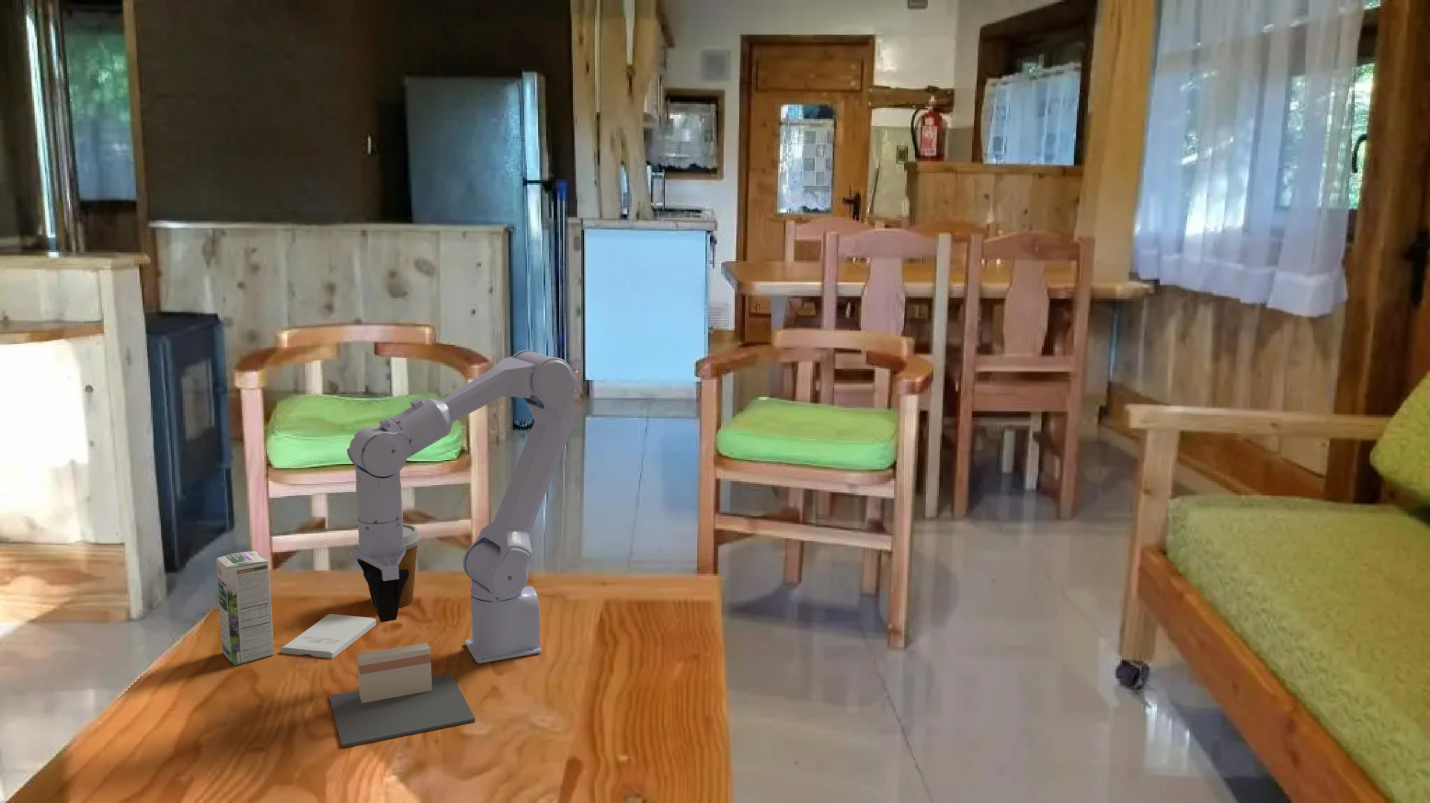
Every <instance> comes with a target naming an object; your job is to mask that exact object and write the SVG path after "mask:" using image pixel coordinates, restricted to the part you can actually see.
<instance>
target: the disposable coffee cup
mask: <svg viewBox="0 0 1430 803" xmlns="http://www.w3.org/2000/svg"><path fill="white" fill-rule="evenodd" d="M403 538H404V546H405V548H406V553H405V555H404V557H403V558H402V560H401V562H400V564H399V565H398V566H399V570H403V569H408V571H409V577H408V579H407V581H406V583H405V585H404V587H403V590H402V593H401V598H400V603H399V608H403V607H406V606H408V605H410V604H411V603H413V600H414V588H415V578H416V577H415V576H416V566H417V553H418V544H419V542H420V540H421V535H420V534H419V532H418V528H417V527H416V526H415V525H413V524H408V523H403ZM358 543H359V540H358ZM371 603H372V606H373V607H374V605H373V602H371Z"/></svg>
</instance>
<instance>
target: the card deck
mask: <svg viewBox="0 0 1430 803" xmlns="http://www.w3.org/2000/svg"><path fill="white" fill-rule="evenodd" d="M356 655H357V671H358V672H357V674H358V687H359V689H358V690H359V693H360V699H361V702H362V703H366V702H372V701H377V700H382V699H388V698H393V697H399V696H404V695H410V694H415V693H421V692H426V691H431V690H432V677H433V676H432V654H431V647H430V645H429V642H423V643H416V644H412V645H411V644H410V645H403V646H398V647H392V648H387V649H386V648H385V649H381V650H373V651H367V652H362V653H357V654H356Z"/></svg>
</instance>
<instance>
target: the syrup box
mask: <svg viewBox="0 0 1430 803" xmlns="http://www.w3.org/2000/svg"><path fill="white" fill-rule="evenodd" d="M215 560H216V571H217V573H216V574H217V591H218V606H219V621H220V623H219V624H220V625H219V626H220V635H221V636H220V638H221V648H222V651H221V652H222V654H223V655H224V656H225V657H226V658H227V659H228V661H230V662H231V663H232V664H233V665H234V666H238V665H241V664H245V663H249V662H252V661H257V660H260V659H263V658H267V657H270V656H273V655H275V649H274V648H275V647H274V645H275V644H274V629H273V613H272V600H271V599H272V598H271V596H272V595H271V581H270V580H271V579H270V577H271V576H270V568H269V567H270V566H269V565H270V564H269V563H270V562H269V560H267V559H266V558H265V557H264V556H263V555H261V554H260V553H258V552H257V551H255V550H254V551H242V552H236V553H231V554H227V555H223V556H221V557H217V558H216V559H215Z"/></svg>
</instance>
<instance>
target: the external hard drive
mask: <svg viewBox="0 0 1430 803" xmlns="http://www.w3.org/2000/svg"><path fill="white" fill-rule="evenodd" d="M376 625H377V619H376V618H374V617H367V616H365V617H364V616H356V615H355V616H354V615H345V614H336V613H335V614H333V613H329V614H327V615H325V616H324V617H323V618H321V619H320V620H319V621H317V622H316V623H315V624H313V625H311V626H310V627H309V628H306V630H305V631H304V632H302V633H301V634H299V635H298V636H296V637H295V638H293V639H292V640H291V641H290V642H288V643H286V644H285V645H283V646H282V647H281V648H280V650H281V653H282V654H289V655H299V656H304V655H305V656H311V657H317V658H324V659H325V658H326V659H334V658H336V656H338V655H339V654H340V653H342V652H343V651H344V650H345V649H346V648H348V647H349V646H351V645H353V643H355V641H357V640H358V639H359V638H361V637H362V636H364V635H365V634H366V633H367V632H369V631H370V630H371V629H373V628H374V627H375V626H376Z"/></svg>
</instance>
